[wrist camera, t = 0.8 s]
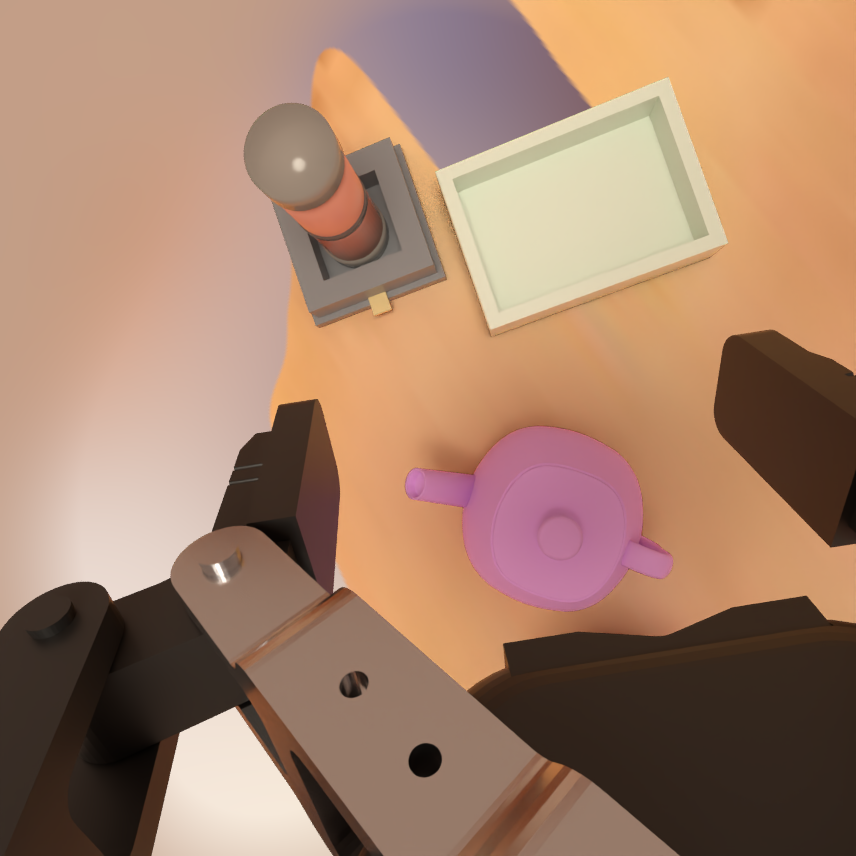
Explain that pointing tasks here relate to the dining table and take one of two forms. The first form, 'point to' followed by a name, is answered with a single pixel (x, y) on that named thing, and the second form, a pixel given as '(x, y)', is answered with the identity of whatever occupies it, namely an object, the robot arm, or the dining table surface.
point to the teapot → (549, 517)
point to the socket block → (379, 280)
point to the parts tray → (582, 208)
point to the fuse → (315, 183)
